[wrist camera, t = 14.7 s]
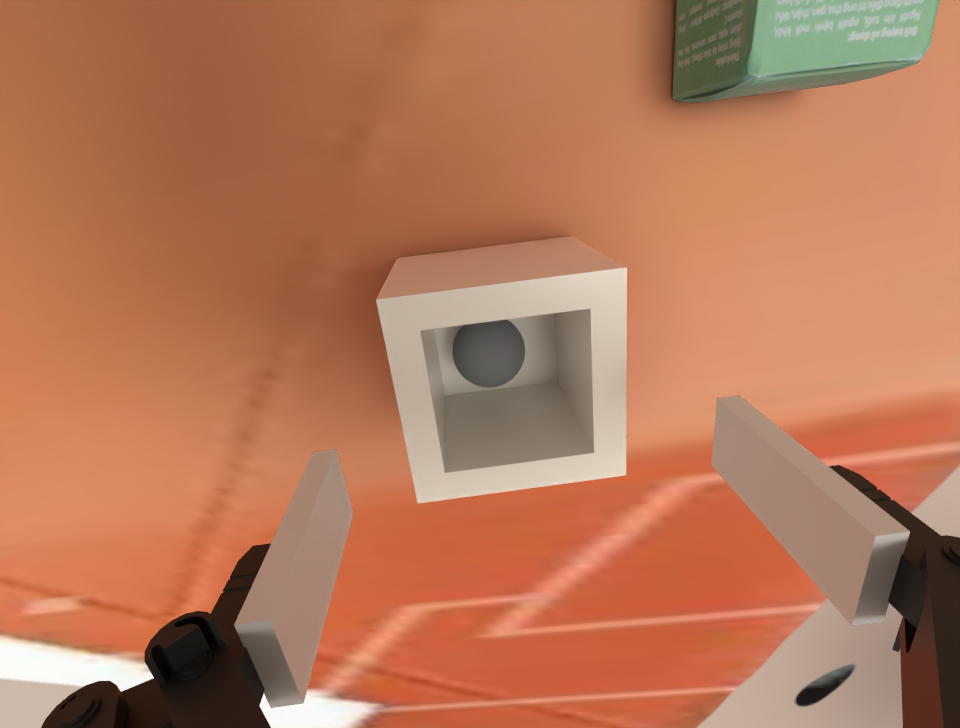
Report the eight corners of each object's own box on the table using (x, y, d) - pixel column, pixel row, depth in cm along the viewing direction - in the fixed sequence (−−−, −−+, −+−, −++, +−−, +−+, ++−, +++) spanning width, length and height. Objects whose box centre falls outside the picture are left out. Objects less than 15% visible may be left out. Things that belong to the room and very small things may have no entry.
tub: (397, 257, 27) (376, 299, 19) (572, 235, 27) (626, 267, 19) (425, 412, 31) (417, 503, 23) (578, 392, 31) (626, 475, 23)
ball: (458, 305, 28) (437, 334, 24) (526, 302, 27) (515, 332, 23) (467, 365, 30) (449, 401, 26) (532, 365, 29) (522, 402, 25)
